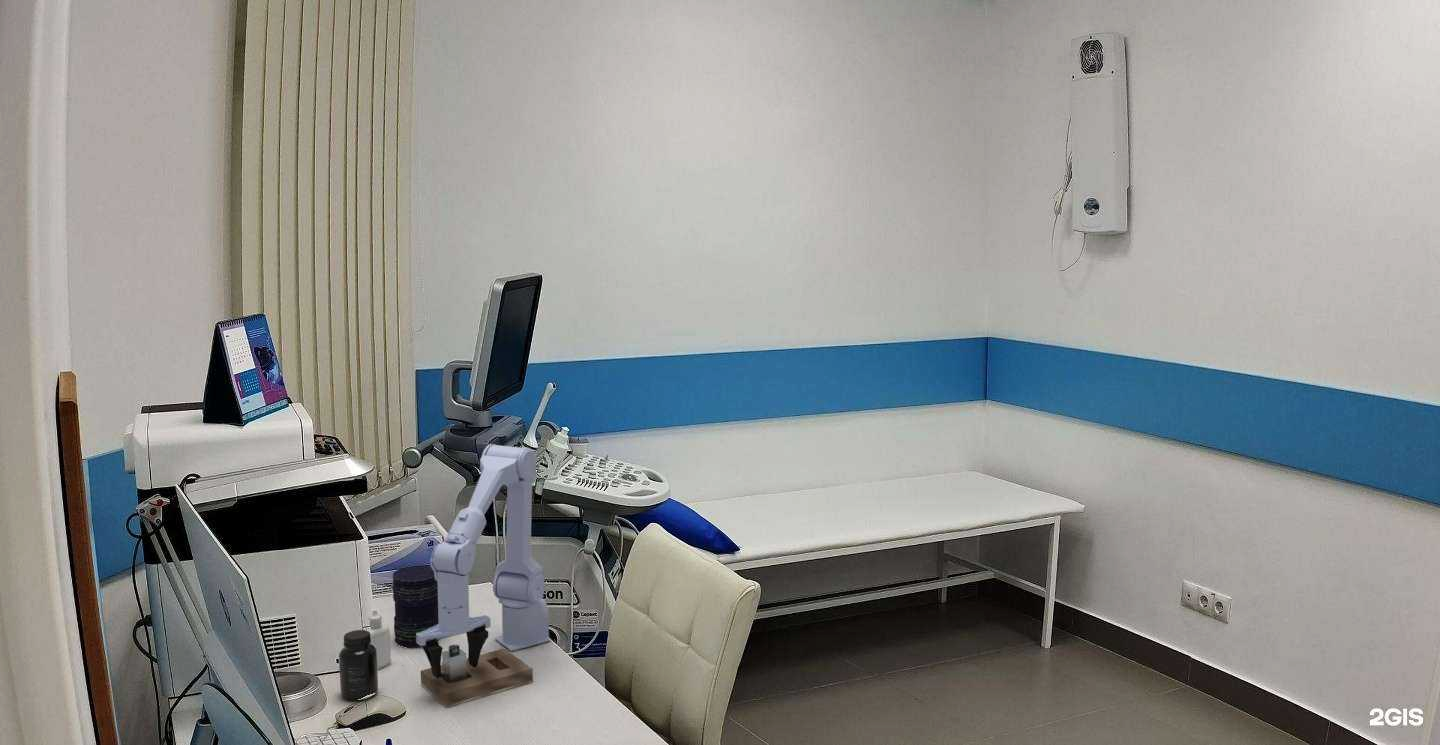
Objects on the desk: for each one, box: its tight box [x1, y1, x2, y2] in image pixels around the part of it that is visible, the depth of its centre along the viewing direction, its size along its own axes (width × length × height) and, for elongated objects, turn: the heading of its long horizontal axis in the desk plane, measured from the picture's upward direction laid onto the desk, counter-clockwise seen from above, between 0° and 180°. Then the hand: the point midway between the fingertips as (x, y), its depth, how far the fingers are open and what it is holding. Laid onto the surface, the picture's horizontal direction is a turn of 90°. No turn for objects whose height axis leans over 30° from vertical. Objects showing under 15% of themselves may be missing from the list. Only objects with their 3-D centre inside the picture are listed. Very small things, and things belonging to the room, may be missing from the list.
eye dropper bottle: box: [368, 608, 392, 671], centre depth 209 cm, size 4×6×12 cm
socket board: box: [420, 647, 534, 709], centre depth 203 cm, size 18×12×3 cm, turn 128°
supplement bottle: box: [338, 629, 379, 702], centre depth 197 cm, size 7×7×12 cm
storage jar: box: [392, 564, 440, 649], centre depth 222 cm, size 10×10×15 cm
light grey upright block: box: [441, 644, 467, 684], centre depth 200 cm, size 3×3×8 cm
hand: (455, 670), depth 200 cm, fingers open, 7 cm apart
